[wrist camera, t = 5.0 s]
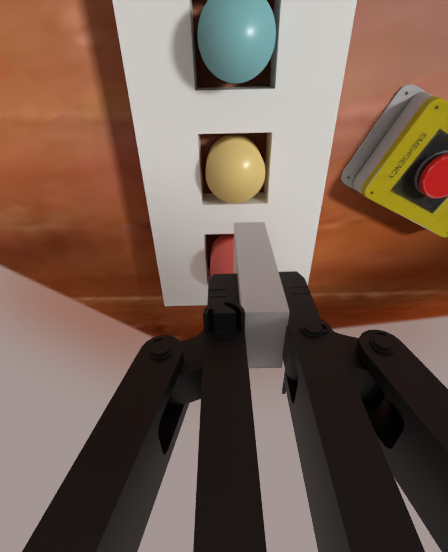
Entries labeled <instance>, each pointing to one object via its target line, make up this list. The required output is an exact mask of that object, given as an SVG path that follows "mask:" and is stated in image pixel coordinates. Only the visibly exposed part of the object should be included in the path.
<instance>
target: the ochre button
mask: <svg viewBox="0 0 448 552" xmlns="http://www.w3.org/2000/svg"><path fill="white" fill-rule="evenodd" d="M264 179H265V165H264V161H263V159H262V157H261V155H260V152H259V150H258V148H257V146H256V145H255V144H254V142H253V141H252V140H250V139H249V138H248V137H246V136H243V135H240V134H229V135H225V136H223V137H221V138H219V139H218V140H217V141H216V142H215V143H214V144H213V145H212V146H211V148H210V150H209V152H208V156H207V163H206V181H207V184H208V187H209V188H210V190H211V191H212V193H213V194H214V195H215V196H216V197H218V198H219V199H221V200H223V201H225V202H229V203H240V202H244V201H247V200H249V199H251V198H252V197H253V196H255V195H256V194H257V193H258V192H259V190H260V189H261V187H262V185H263V183H264Z"/></svg>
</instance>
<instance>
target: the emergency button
mask: <svg viewBox="0 0 448 552" xmlns="http://www.w3.org/2000/svg"><path fill="white" fill-rule="evenodd" d="M341 179H342V182H343V183H344V184H345V185H346V186H348V187H350V188H352V189H354V190H356V191H358V192H359V193H361V194H363V195H364V196H365V197H367V198H368V199H370V200H372V201H374V202H376V203H378V204H380V205H382V206H384V207H386V208H388V209H389V210H391V211H393V212H395V213H397V214H399V215H401V216H403V217H405V218H407V219H409V220H411V221H412V222H414V223H416V224H418V225H420V226H422V227H424V228H426V229H428V230H430V231H432V232H433V233H435V234H437V235H439V236H441V237H448V102H447V101H446V100H444V99H442V98H440V97H436V96H433V95H430V94H428V93H427V92H425V91H424V90H422V89H421V88H419V87H418V86H415V85H412V84H408V85H405V86H403V87H402V88H400V89H399V90H398V91H397V93H396V94H395V96H394V97H393V99H392V100H391V102H390V103H389V105H388V106H387V107H386V109H385V110H384V112H383V113H382V115H381V116H380V118H379V119H378V121H377V122H376V124H375V125H374V126H373V128H372V129H371V131H370V132H369V134H368V135H367V137H366V138H365V140H364V141H363V143H362V144H361V145H360V147H359V148H358V150H357V151H356V153H355V154H354V156H353V157H352V159H351V160H350V162H349V163H348V165H347V166H346V167H345V169H344V170H343V172H342V175H341Z"/></svg>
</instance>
